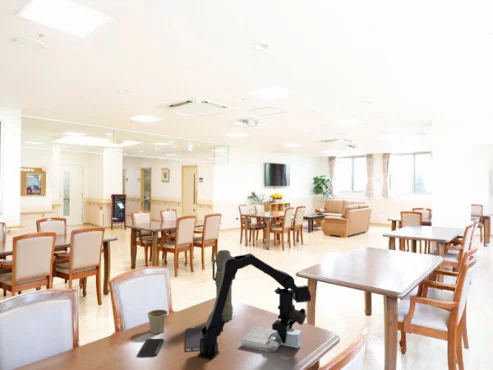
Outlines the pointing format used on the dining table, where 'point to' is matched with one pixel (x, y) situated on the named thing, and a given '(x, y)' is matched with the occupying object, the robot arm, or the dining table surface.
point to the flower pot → (157, 320)
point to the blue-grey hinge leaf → (291, 338)
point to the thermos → (217, 278)
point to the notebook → (193, 339)
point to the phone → (151, 348)
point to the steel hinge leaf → (261, 339)
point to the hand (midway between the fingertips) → (286, 340)
